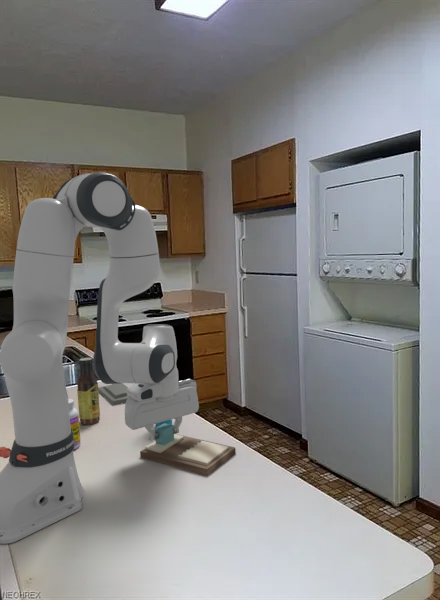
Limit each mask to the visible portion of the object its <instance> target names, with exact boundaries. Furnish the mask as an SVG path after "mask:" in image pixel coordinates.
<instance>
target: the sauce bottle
mask: <svg viewBox="0 0 440 600" xmlns="http://www.w3.org/2000/svg"><path fill="white" fill-rule="evenodd" d="M78 365H79V370H80V371H79V373H80V374H79V376H78V378H77V382H76V385H77V405H78V407H77V408H78V415H79V424H81V425H93V424H96V423H98V422H99V421H100V417H101V412H100V409H101V408H100V395H99V394H100V393H99V392H98V388H99V383H98V379H97V378H96V374H95V373H94V370H93V358H92V357H82V358H80V359H79V360H78Z"/></svg>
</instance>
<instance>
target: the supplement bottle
mask: <svg viewBox="0 0 440 600" xmlns="http://www.w3.org/2000/svg"><path fill="white" fill-rule="evenodd" d="M68 402H69V414H70V426H71V430H72V431H73V436H74V449H73V451H74V450H76V449H78V448H79V447H80V445H81V431H80V430H81V428H80V418H79V410H78V409H77V408H75V407H74V405H75V401H74V399H72V398H68Z"/></svg>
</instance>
